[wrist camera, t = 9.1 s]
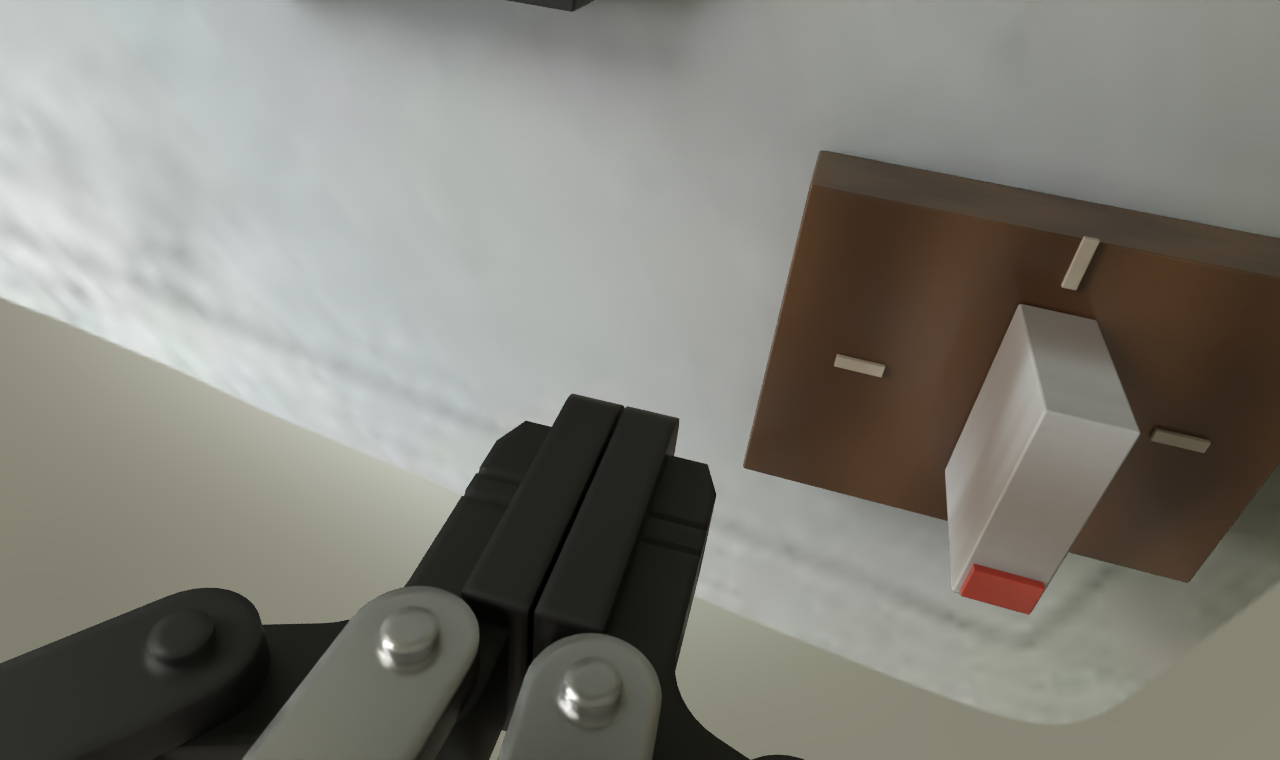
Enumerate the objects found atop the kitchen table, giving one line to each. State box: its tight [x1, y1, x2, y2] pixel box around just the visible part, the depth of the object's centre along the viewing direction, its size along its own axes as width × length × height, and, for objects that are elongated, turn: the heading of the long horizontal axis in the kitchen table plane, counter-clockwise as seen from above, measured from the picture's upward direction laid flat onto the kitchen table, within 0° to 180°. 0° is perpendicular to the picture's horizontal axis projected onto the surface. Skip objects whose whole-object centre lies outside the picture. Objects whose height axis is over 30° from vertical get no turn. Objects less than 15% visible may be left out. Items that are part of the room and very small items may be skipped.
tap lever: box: [945, 304, 1140, 615], centre depth 21 cm, size 6×2×5 cm, turn 173°
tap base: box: [743, 151, 1280, 583], centre depth 24 cm, size 14×10×3 cm
